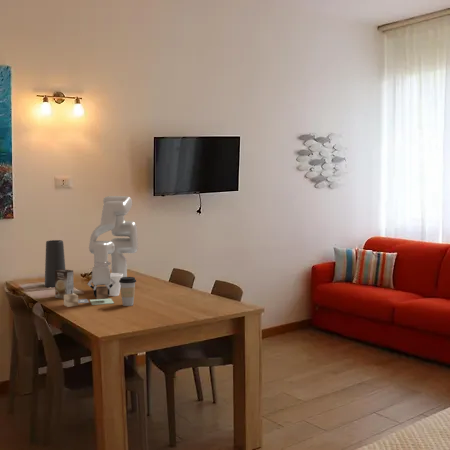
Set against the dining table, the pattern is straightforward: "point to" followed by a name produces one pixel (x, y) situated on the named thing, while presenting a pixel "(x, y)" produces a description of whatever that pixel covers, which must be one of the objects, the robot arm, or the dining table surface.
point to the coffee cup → (127, 290)
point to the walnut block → (101, 292)
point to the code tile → (83, 301)
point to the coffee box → (63, 283)
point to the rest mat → (101, 301)
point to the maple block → (70, 300)
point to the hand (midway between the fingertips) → (101, 296)
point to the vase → (53, 260)
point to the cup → (116, 287)
